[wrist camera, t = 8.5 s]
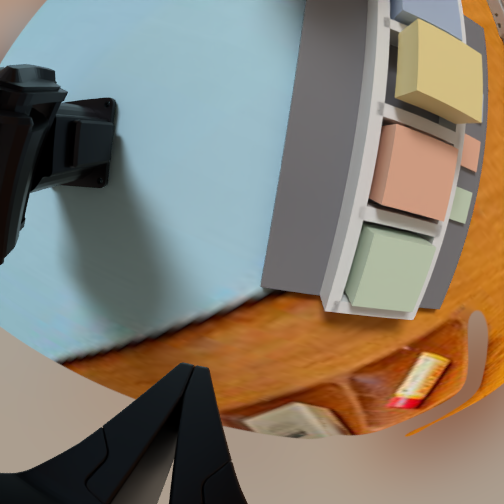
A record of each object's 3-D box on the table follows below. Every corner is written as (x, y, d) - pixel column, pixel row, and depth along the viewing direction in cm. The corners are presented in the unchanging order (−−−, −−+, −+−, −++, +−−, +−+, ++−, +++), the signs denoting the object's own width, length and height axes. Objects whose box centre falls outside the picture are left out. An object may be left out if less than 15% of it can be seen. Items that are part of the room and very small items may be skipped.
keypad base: (261, 281, 20) (259, 303, 17) (311, -39, 11) (315, -61, 8) (435, 304, 20) (451, 323, 17) (478, 30, 11) (497, 22, 8)
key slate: (387, 24, 12) (402, 10, 9) (386, -18, 10) (399, -35, 8) (442, 49, 11) (462, 40, 9) (439, 6, 10) (456, -6, 8)
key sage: (342, 285, 18) (352, 305, 15) (360, 221, 16) (374, 233, 14) (397, 293, 18) (412, 312, 15) (417, 234, 16) (436, 247, 14)
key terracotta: (365, 196, 16) (381, 204, 13) (378, 126, 14) (396, 123, 12) (423, 211, 16) (443, 221, 13) (436, 147, 14) (458, 149, 12)
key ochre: (394, 97, 12) (416, 90, 9) (398, 33, 10) (418, 18, 8) (455, 124, 12) (481, 123, 9) (457, 62, 10) (481, 54, 8)
